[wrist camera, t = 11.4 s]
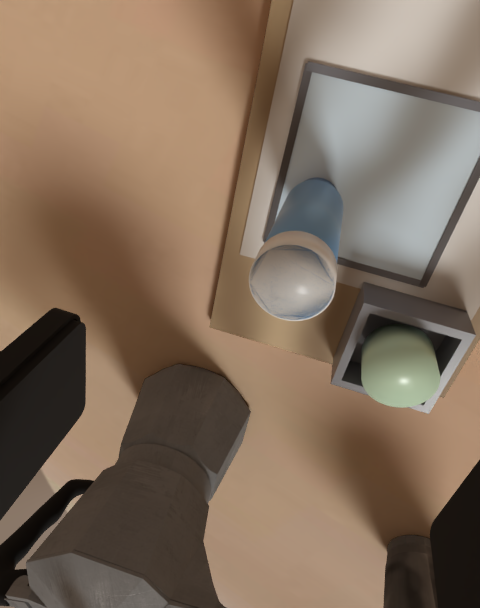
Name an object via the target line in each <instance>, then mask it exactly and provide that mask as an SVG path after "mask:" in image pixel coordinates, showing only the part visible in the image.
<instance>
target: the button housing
mask: <svg viewBox="0 0 480 608" xmlns="http://www.w3.org/2000/svg"><path fill="white" fill-rule="evenodd" d="M390 324H405V325H410V326H413V327H416V328H418V329H420V330H421V331H423V332H424V333H425V334H426V335H427V336H428V337H429V338H430V340H431V341H432V344H433V347H434V351H435V355H436V360H437V364H438V369H439V373H440V384H439V387H438V389H437V391H436V392H435V394H434V395H433V396H432V397H431V398H430V399H428V400H427V401H425V402H423V403H421V404H419V405H416V406H412V407H408V408H411V409H415V410H418V411H421V412H425V413H428V414H429V412H430V411H431V409H432V407H433V406H434V404H435V402H436V401H437V399H438V397H439V396H440V394H441V392H442V391H443V389H444V387H445V386H446V384H447V383H448V381H449V379H450V378H451V376H452V374H453V373H454V371H455V369H456V368H457V366H458V364H459V363H460V361H461V359H462V358H463V356H464V354H465V353H466V351H467V349H468V348H469V346H470V344H471V343H472V341H473V339H474V338H475V336H476V334H475V331H474V328H473V326H472V323H471V320H470V318H469V315H468V312H467V311H466V310H463V309H459V308H455V307H452V306H448V305H445V304H441V303H438V302H434V301H431V300H427V299H423V298H420V297H416V296H413V295H409V294H406V293H402V292H399V291H395V290H392V289H388V288H384V287H381V286H377V285H374V284H370V283H367V282H364V283H363V285H362V288H361V289H360V292H359V294H358V297H357V299H356V302H355V304H354V307H353V310H352V312H351V315H350V317H349V320H348V322H347V325H346V327H345V330H344V332H343V335H342V337H341V340H340V342H339V345H338V347H337V350H336V352H335V355H334V357H333V365H332V376H331V384H333V385H336V386H340V387H343V388H346V389H349V390H353V391H356V392H359V393H362V394H366V395H369V394H368V393H367V392H366V391H365V389H364V387H363V385H362V380H361V359H362V346H363V343H364V341H365V339H366V338H367V336H368V335H369V334H370V333H372V332H373V331H374V330H376V329H378V328H380V327H383V326H386V325H390Z"/></svg>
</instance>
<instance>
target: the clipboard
mask: <svg viewBox="0 0 480 608" xmlns="http://www.w3.org/2000/svg"><path fill="white" fill-rule="evenodd" d="M316 177H317V178H323V179H326V180H328V181H330V182H331V183H332V184H333V185H334V186H335V188H336V189H337V191H338V192H339V194H340V196H341V198H342V201H343V217H342V226H341V234H340V242H339V251H338V259H337V279H336V288H335V294H334V297H333V299H332V301H331V303H330V304H329V306H328V307H327V308H326V309H325V310H324V311H323V312H322V313H320V314H319V315H317V316H315V317H313V318H310V319H307V320H303V321H288V320H283V319H279V318H277V317H274V316H272V315H270V314H269V313H267V312H266V311H265V310H263V309H262V308H261V307H260V306H259V305H258V303H257V302H256V301H255V299H254V298H253V296H252V293H251V291H250V287H249V273H250V269H251V267H252V264H253V262H254V260H255V258H256V256H257V254H258V252H259V250H260V249H261V247H262V246H263V244H264V243H265V241H266V239H267V237H268V235H269V233H270V231H271V229H272V227H273V224H274V222H275V220H276V218H277V216H278V214H279V212H280V210H281V208H282V206H283V204H284V202H285V200H286V198H287V196H288V194H289V192H290V191H291V190H292V189H293V188H294V187H295V186H296V185H298V184H299V183H301V182H304V181H305V180H307V179H310V178H316ZM364 282H367V283H370V284H374V285H377V286H381V287H384V288H388V289H392V290H395V291H399V292H402V293H406V294H409V295H413V296H416V297H420V298H423V299H427V300H431V301H434V302H438V303H441V304H445V305H448V306H452V307H455V308H459V309H463V310H466V311H467V312H468V315H469V318H470V320H471V323H472V326H473V328H474V331H475V334H476V336H475V338H474V339H473V341H472V343H471V344H470V346H469V348H468V349H467V351H466V353H465V354H464V356H463V358H462V359H461V361H460V363H459V364H458V366H457V368H456V369H455V371H454V373H453V374H452V376H451V378H450V379H449V381H448V383H447V384H446V386H445V387H444V389H443V391H442V392H441V394H440V396H439V397H442V398H444V397H445V395H446V393H447V392H448V390H449V388H450V387H451V385H452V384H453V382H454V380H455V379H456V377H457V375H458V374H459V372H460V370H461V369H462V367H463V366H464V364H465V362H466V361H467V359H468V357H469V356H470V354H471V352H472V351H473V349H474V348H475V346H476V344H477V343H478V341H479V339H480V0H272V2H271V7H270V12H269V17H268V23H267V28H266V33H265V38H264V44H263V49H262V54H261V59H260V65H259V70H258V75H257V80H256V86H255V91H254V96H253V101H252V107H251V112H250V117H249V122H248V128H247V133H246V138H245V143H244V149H243V154H242V159H241V164H240V170H239V175H238V180H237V185H236V191H235V196H234V201H233V206H232V212H231V217H230V222H229V228H228V233H227V238H226V243H225V249H224V254H223V259H222V264H221V270H220V275H219V280H218V285H217V291H216V296H215V301H214V306H213V312H212V317H211V322H210V328H213V329H217V330H220V331H223V332H227V333H230V334H233V335H237V336H240V337H243V338H247V339H250V340H253V341H257V342H260V343H263V344H266V345H270V346H273V347H276V348H280V349H283V350H286V351H290V352H293V353H296V354H300V355H303V356H306V357H310V358H313V359H316V360H320V361H323V362H326V363H329V364H333V357H334V355H335V352H336V350H337V347H338V345H339V342H340V340H341V337H342V335H343V332H344V330H345V327H346V325H347V322H348V320H349V317H350V315H351V312H352V310H353V307H354V304H355V302H356V299H357V297H358V294H359V292H360V289H361V288H362V285H363V283H364Z"/></svg>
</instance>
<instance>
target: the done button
mask: <svg viewBox="0 0 480 608" xmlns="http://www.w3.org/2000/svg"><path fill="white" fill-rule="evenodd" d="M361 380H362V385H363V387H364V389H365V391H366V392H367V393H368V394H369V396H370V397H372V398H373V399H374V400H376V401H377V402H380V403H382V404H384V405H387V406H391V407H412V406H416V405H419V404H421V403H423V402H425V401H427V400H428V399H430V398H431V397H432V396H433V395H434V394H435V392H436V391H437V389H438V387H439V384H440V373H439V369H438V364H437V360H436V355H435V351H434V347H433V344H432V341H431V340H430V338H429V337H428V336H427V335H426V334H425V333H424V332H423V331H421V330H420V329H418V328H416V327H413V326H410V325H405V324H390V325H386V326H383V327H380V328H378V329H376V330H374V331H373V332H372V333H370V334H369V335H368V336H367V338H366V339H365V341H364V343H363V346H362V359H361Z"/></svg>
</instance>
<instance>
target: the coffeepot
mask: <svg viewBox="0 0 480 608" xmlns="http://www.w3.org/2000/svg"><path fill="white" fill-rule="evenodd" d="M250 412H251V411H250V410H249V408H248V406H247V405H246V403H245V402H244V400H243V398H242V397H241V395H240V394H239V392H238V391H237V390H236V389H235V388H234V387H233V386H232V384H230V383H229V382H228V381H227V380H226V379H225V378H224V377H222V376H220V375H218V374H216V373H214V372H211V371H209V370H206V369H204V368H200V367H195V366H187V365H181V364H177V365H174V366H171V367H168V368H165V369H162V370H161V371H159V372H157V373H156V374H154V375H152V376H150V377H148V378H146V379H145V380H144V383H143V386H142V388H141V391H140V394H139V396H138V399H137V402H136V405H135V407H134V410H133V413H132V415H131V418H130V421H129V424H128V426H127V429H126V432H125V434H124V437H123V440H122V443H121V447H120V452H119V459H118V460H117V462H116V464H115V465H114V466H112V467H109V468H107V469H105V470H103V471H102V472H101V474H100V475H99V476H98V477H97V478H96V480H95V481H92V480H81V479H75V480H70V481H68V482H67V483H66V484H65V485H64V486H63V487H62V488H61V489H60V490H59V491H58V492H57V493H55V494H54V495H53V496H52V497H51V498H50V499H49V500H48V501H47V502H46V503H45V504H44V505H42V506H41V507H40V508H39V509H38V510H37V511H36V512H35V513H34V514H33V515H32V516H31V517H30V518H29V519H28V520H27V521H26V522H25V523H24V524H23V525H22V526H21V527H20V528H19V529H18V530H17V531H16V532H14V533H13V534H12V535H11V536H10V537H9V538H8V539H7V540H6V541H5V542H4V543H2V544H1V545H0V606H12V607H15V608H226V607H224V606H223V605H222V604H221V603H220V602H219V600H218V597H217V594H216V591H215V588H214V585H213V582H212V577H211V573H210V569H209V564H208V560H207V556H206V551H205V547H204V542H203V539H204V533H205V527H206V521H207V515H208V509H209V505H208V502H209V501H210V500H211V499H212V497H213V495H214V493H215V492H216V490H217V488H218V486H219V484H220V482H221V480H222V479H223V477H224V475H225V473H226V471H227V469H228V468H229V466H230V464H231V462H232V460H233V458H234V456H235V455H236V453H237V451H238V449H239V447H240V445H241V444H242V441H243V437H244V434H245V430H246V427H247V423H248V420H249V416H250ZM81 494H83V495H82V496H81V498H80V499H79V500H78V501H77V502H76V504H75V505H74V506H73V507H72V508H71V510H70V511H69V512H68V513H67V514H66V516H65V517H64V518H63V520H62V521H61V522H60V523H59V524H58V525H57V527H56V528H55V529H54V530H53V531H52V533H51V534H50V535H49V536H48V537H47V539H46V540H45V541H44V542H43V543H42V545H41V546H40V547H39V548H38V549H37V551H36V552H35V553H34V554H33V555H32V557H31V558H30V559H29V560H27V562H26V567H27V569H19V570H15V567H16V564H17V563H18V562H19V561H20V560H21V559H22V558H23V557H24V556H25V555H26V554H27V553H28V551H29V550H30V549H31V547H32V546H33V545H34V543H35V542H36V541H37V540H38V538H39V537H40V536H41V535H42V534H43V533H44V531H46V530H47V529H48V528H49V527H50V526H51V525H53V524H54V523H55V522H56V521H57V520H58V519H59V518H60V517H61V515H62V514H63V512H64V510H65V509H66V507H67V505H68V504H69V503H70V501H71V500H72V499H73V498H75V497H76V496H78V495H81Z"/></svg>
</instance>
